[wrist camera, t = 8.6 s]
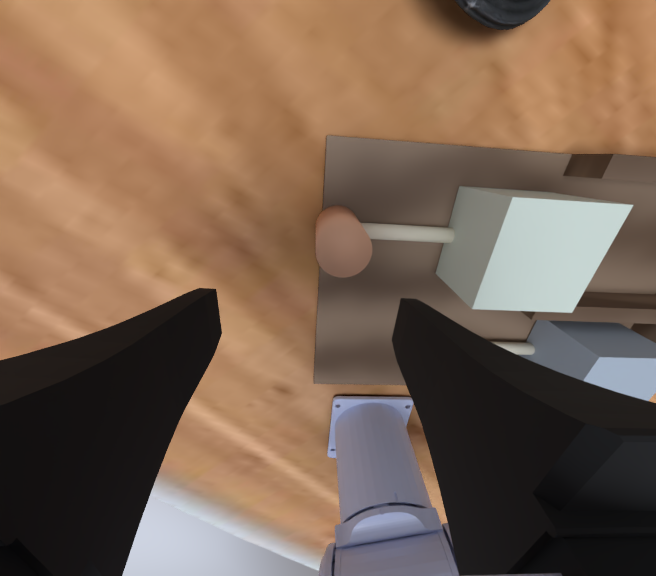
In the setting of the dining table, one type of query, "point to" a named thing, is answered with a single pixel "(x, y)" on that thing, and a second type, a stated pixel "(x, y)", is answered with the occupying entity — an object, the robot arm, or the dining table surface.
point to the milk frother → (502, 11)
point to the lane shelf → (423, 257)
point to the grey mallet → (593, 354)
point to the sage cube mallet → (493, 246)
